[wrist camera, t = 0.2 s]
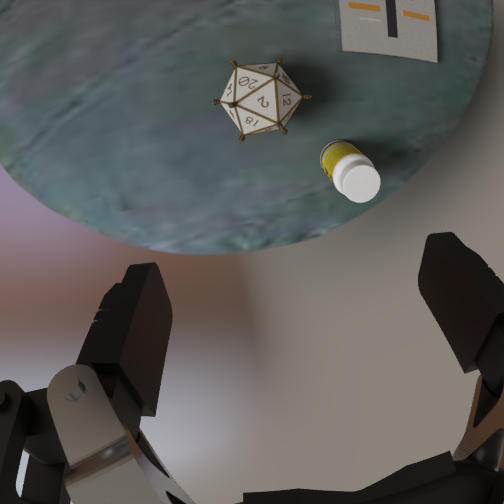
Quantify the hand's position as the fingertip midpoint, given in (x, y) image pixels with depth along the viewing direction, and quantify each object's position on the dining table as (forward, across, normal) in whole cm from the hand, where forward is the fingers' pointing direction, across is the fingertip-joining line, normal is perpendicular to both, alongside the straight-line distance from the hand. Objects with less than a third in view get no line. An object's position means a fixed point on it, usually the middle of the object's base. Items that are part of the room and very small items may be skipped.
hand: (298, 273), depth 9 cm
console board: (+29, -16, -17) cm, 37 cm away
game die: (+29, 0, -2) cm, 29 cm away
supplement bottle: (+29, -9, +6) cm, 31 cm away
